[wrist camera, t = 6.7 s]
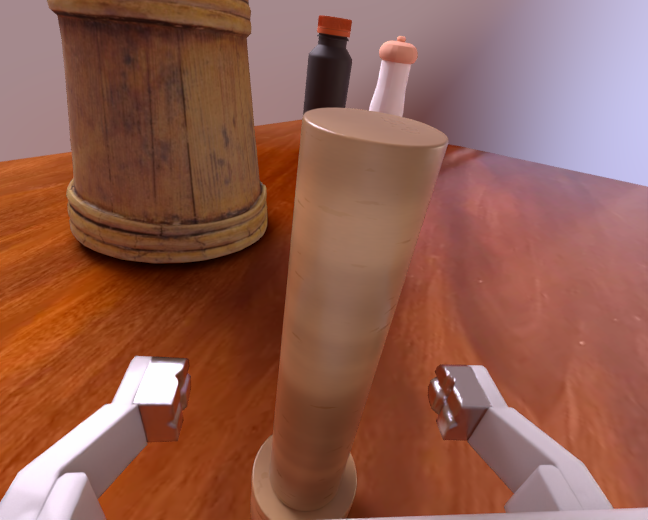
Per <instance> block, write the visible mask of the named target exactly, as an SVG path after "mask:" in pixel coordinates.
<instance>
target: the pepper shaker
mask: <svg viewBox="0 0 648 520" xmlns="http://www.w3.org/2000/svg"><path fill="white" fill-rule="evenodd" d="M405 41H406V38H405V37H404V36H399V37H398V38H397V41H388V42H385V43H384V44H383V45H382V46H381V48H380V51H379V55H380V58H381V59H383V60H382V63H381V68H380V73H379V78H378V83H377V87H376V90H375V92H374V95H373V99H372V102H371V104H370V109H369V111H375V112H381V113H386V114H391V115H396V116H400V117H402V115H403V110H404V99H405V89H406V85H407V80H408V76H409V72H410V67H411V64H413V63H414V62H415V61H416V59H417V57H418V56H417V55H418V53H417V49H416V47H414V46H413V45H412V44H409V43H405Z"/></svg>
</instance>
